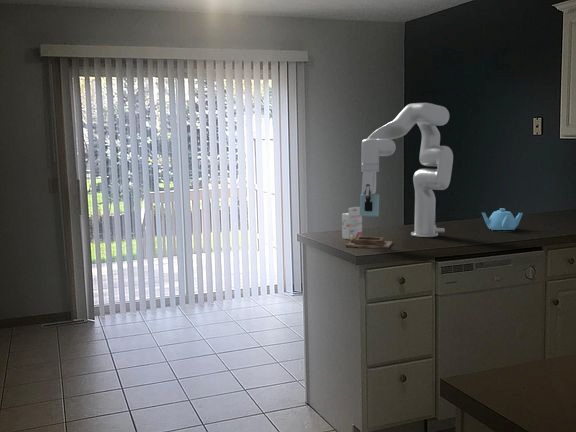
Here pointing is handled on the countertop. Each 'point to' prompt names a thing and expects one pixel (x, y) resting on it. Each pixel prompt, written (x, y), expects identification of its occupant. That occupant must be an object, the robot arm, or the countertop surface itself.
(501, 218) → the teapot
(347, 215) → the ink cartridge box
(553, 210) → the countertop surface
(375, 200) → the key block
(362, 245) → the cradle
